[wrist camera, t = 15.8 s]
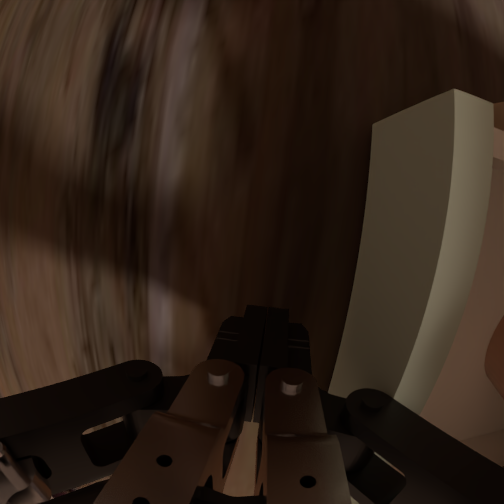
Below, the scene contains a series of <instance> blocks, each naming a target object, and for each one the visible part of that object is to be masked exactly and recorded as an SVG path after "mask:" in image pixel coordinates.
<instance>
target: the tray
mask: <svg viewBox="0 0 504 504" xmlns="http://www.w3.org/2000/svg"><path fill="white" fill-rule="evenodd" d="M503 316H504V131H502V130H500V129H497V128H495V127H494V109H493V103H491V102H488V101H486V100H484V99H481V98H479V97H476V96H473V95H471V94H468V93H466V92H463V91H460V90H457V89H452V90H449V91H447V92H444V93H442V94H439V95H437V96H435V97H432V98H430V99H428V100H425V101H423V102H421V103H418V104H416V105H414V106H411V107H409V108H407V109H405V110H402V111H400V112H398V113H396V114H393V115H391V116H389V117H387V118H385V119H383V120H380V121H378V122H376V123H374V124H372V142H371V156H370V168H369V178H368V188H367V197H366V206H365V214H364V221H363V229H362V236H361V242H360V249H359V255H358V261H357V267H356V273H355V278H354V284H353V289H352V294H351V299H350V304H349V309H348V314H347V318H346V323H345V327H344V332H343V336H342V340H341V344H340V348H339V352H338V356H337V360H336V364H335V368H334V372H333V376H332V379H331V383H330V386H329V390H328V393H329V394H332V395H335V396H339V397H343V398H347V397H348V395H349V394H350V393H351V392H353V391H355V390H358V389H362V388H371V389H376V390H380V391H382V392H384V393H386V394H387V395H389V396H390V397H392V398H393V399H395V400H396V401H398V402H399V403H401V404H402V405H404V406H405V407H407V408H408V409H410V410H411V411H413V412H414V413H416V414H418V415H419V416H421V417H422V418H424V419H425V420H427V421H428V422H430V423H431V424H433V425H435V426H436V427H438V428H439V429H441V430H442V431H444V432H445V433H447V434H449V435H450V436H452V437H453V438H455V439H457V440H458V441H460V442H461V443H463V444H465V445H466V446H468V447H470V448H471V449H473V450H474V451H476V452H478V453H479V454H481V455H483V456H484V457H486V458H488V459H489V460H491V461H493V462H494V463H496V464H498V465H500V466H501V467H502V466H504V400H503V398H502V397H501V395H500V394H499V392H498V391H497V390H496V388H495V387H494V385H493V384H492V383H491V381H490V380H489V379H488V377H487V375H486V373H485V366H484V363H485V356H486V351H487V348H488V345H489V342H490V339H491V337H492V335H493V333H494V331H495V329H496V327H497V325H498V324H499V322H500V320H501V319H502V317H503ZM374 454H375V455H377V456H378V457H379V458H381V459H382V460H383V461H385V462H386V463H387V464H388V465H390V466H391V467H392V468H394V469H395V470H396V471H398V472H399V473H400V474H402V475H403V476H404V474H403V473H402V472H401V471H400V470H398V469H397V468H396V467H394V466H393V465H392V464H390V463H389V462H388V461H386V460H385V459H384V458H382V457H381V456H380V455H378V454H377V453H376V452H375V453H374ZM350 497H351V496H350ZM351 502H352V504H359V503H358V502H357V501H356V500H354V499H353V498H352V497H351Z"/></svg>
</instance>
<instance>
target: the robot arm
mask: <svg viewBox="0 0 504 504" xmlns="http://www.w3.org/2000/svg"><path fill="white" fill-rule="evenodd" d="M266 315H267V307H263V306H254V305H247V307H246V311H245V314H244V317H235V316H231V317H229V318H228V319H226V320H225V321H224V322H223V323H222V325H221V327H220V330H219V332H218V335H217V338H216V339H215V342H214V344H213V346H212V349H211V351H210V354H209V356H208V358H207V360H206V361H203V362H201V363H199V364H198V365H196V366H195V367H194V369H193V370H192V372H191V374H190V375H186V376H163V375H162V371H161V369H160V368H159V367H158V366H157V365H155V364H154V363H152V362H149V361H145V360H131V361H127V362H124V363H121V364H118V365H115V366H112V367H108V368H105V369H102V370H99V371H96V372H93V373H90V374H86V375H83V376H80V377H77V378H73V379H70V380H67V381H63V382H60V383H56V384H53V385H49V386H46V387H42V388H38V389H35V390H31V391H27V392H24V393H20V394H16V395H12V396H8V397H4V398H0V504H352V502H351V497H352V498H353V499H354V500H356V501H357V502H358V503H359V504H504V468H503V467H501V466H500V465H498V464H496V463H494V462H493V461H491V460H489V459H488V458H486V457H484V456H483V455H481V454H479V453H478V452H476V451H474V450H473V449H471V448H470V447H468V446H466V445H465V444H463V443H461V442H460V441H458V440H457V439H455V438H453V437H452V436H450V435H449V434H447V433H445V432H444V431H442V430H441V429H439V428H438V427H436V426H435V425H433V424H431V423H430V422H428V421H427V420H425V419H424V418H422V417H421V416H419V415H418V414H416V413H414V412H413V411H411V410H410V409H408V408H407V407H405V406H404V405H402V404H401V403H399V402H398V401H396V400H395V399H393V398H392V397H390V396H389V395H387V394H386V393H384V392H382V391H380V390H376V389H371V388H362V389H358V390H355V391H353V392H351V393H350V394H349V395H348V397H347V398H343V397H339V396H335V395H332V394H329V393H327V392H325V391H323V390H322V389H320V388H319V387H318V384H317V381H316V380H315V378H314V377H313V376H312V371H311V358H310V349H309V348H310V346H309V335H308V331H307V330H306V328H305V327H304V326H303V325H302V324H299V323H288V322H289V309H282V308H272V307H269V310H268V316H267V323H266ZM265 324H266V330H265ZM264 334H265V336H264ZM258 377H259V378H258ZM257 383H258V386H257ZM256 389H257V395H256ZM255 395H256V403H255V411H254V419H253V422H257V423H259V429H258V436H257V443H256V465H255V487H254V496H245V497H232V496H228V495H225V494H223V489H224V485H225V482H226V479H227V476H228V473H229V470H230V467H231V464H232V461H233V458H234V455H235V452H236V448H237V445H238V442H239V436H240V434H241V432H242V428H243V423H244V421H248V422H251V419H252V413H253V407H254V401H255ZM119 417H123V421H121V422H119V423H116V424H113V425H111V426H108V427H105V428H103V429H100V430H97V431H94V432H92V433H89V434H85V435H82V433H83V432H84V431H85V430H87V429H89V428H92V427H95V426H97V425H100V424H103V423H106V422H108V421H111V420H114V419H116V418H119ZM375 452H376V453H377V454H378V455H380V456H381V457H382V458H384V459H385V460H386V461H388V462H389V463H390V464H392V465H393V466H394V467H396V468H397V469H398V470H400V471H401V472H402V473H403V474H404V476H403V475H402V474H400V473H399V472H398V471H396V470H395V469H394V468H392V467H391V466H390V465H388V464H387V463H386V462H385V461H383V460H382V459H381V458H379V457H378V456H377V455H375V454H374V453H375ZM111 474H112V476H111V477H110V479H108V480H104V481H100V482H97V483H94V484H92V485H89V486H87V487H84V488H82V489H79V490H76V491H74V492H71V493H68V494H65V495H63V496H60V497H57V498H54V499H51V495H53V494H57V493H60V492H63V491H66V490H69V489H73V488H76V487H79V486H81V485H84V484H87V483H90V482H93V481H95V480H98V479H101V478H103V477H106V476H109V475H111ZM350 496H351V497H350ZM50 499H51V500H50Z"/></svg>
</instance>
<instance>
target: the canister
mask: <svg viewBox="0 0 504 504" xmlns="http://www.w3.org/2000/svg"><path fill="white" fill-rule="evenodd" d="M484 366H485V373H486V375H487V377H488V379H489V380H490V381H491V383H492V384H493V385H494V387H495V388H496V390H497V391H498V392H499V394H500V395H501V397H502V398H503V400H504V316H503V317H502V319H501V320H500V322H499V324H498V325H497V327H496V329H495V331H494V333H493V335H492V337H491V339H490V342H489V345H488V348H487V351H486V356H485V363H484Z"/></svg>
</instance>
